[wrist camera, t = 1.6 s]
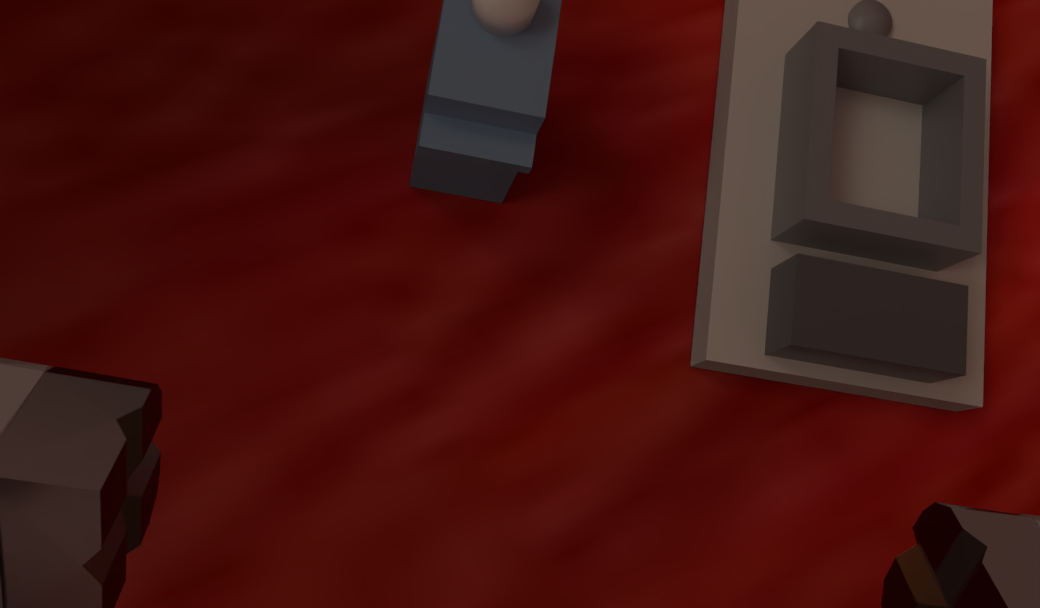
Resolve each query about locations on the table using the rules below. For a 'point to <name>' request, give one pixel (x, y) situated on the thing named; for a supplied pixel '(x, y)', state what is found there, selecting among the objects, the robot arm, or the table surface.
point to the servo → (485, 95)
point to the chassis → (850, 198)
